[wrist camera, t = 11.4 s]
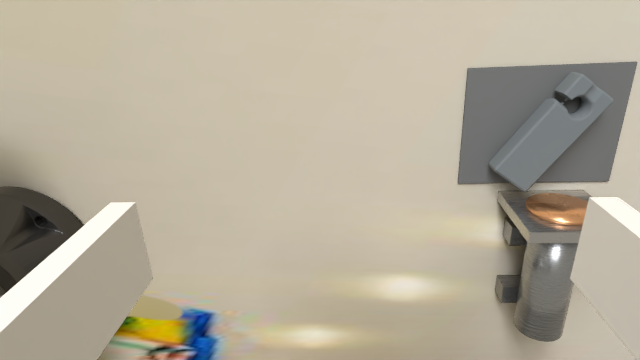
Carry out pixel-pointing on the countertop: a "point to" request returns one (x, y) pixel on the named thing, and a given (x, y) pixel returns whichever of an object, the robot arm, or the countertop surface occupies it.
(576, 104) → the mount pad
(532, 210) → the pipe fixture
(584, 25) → the countertop surface
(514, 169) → the bracket
